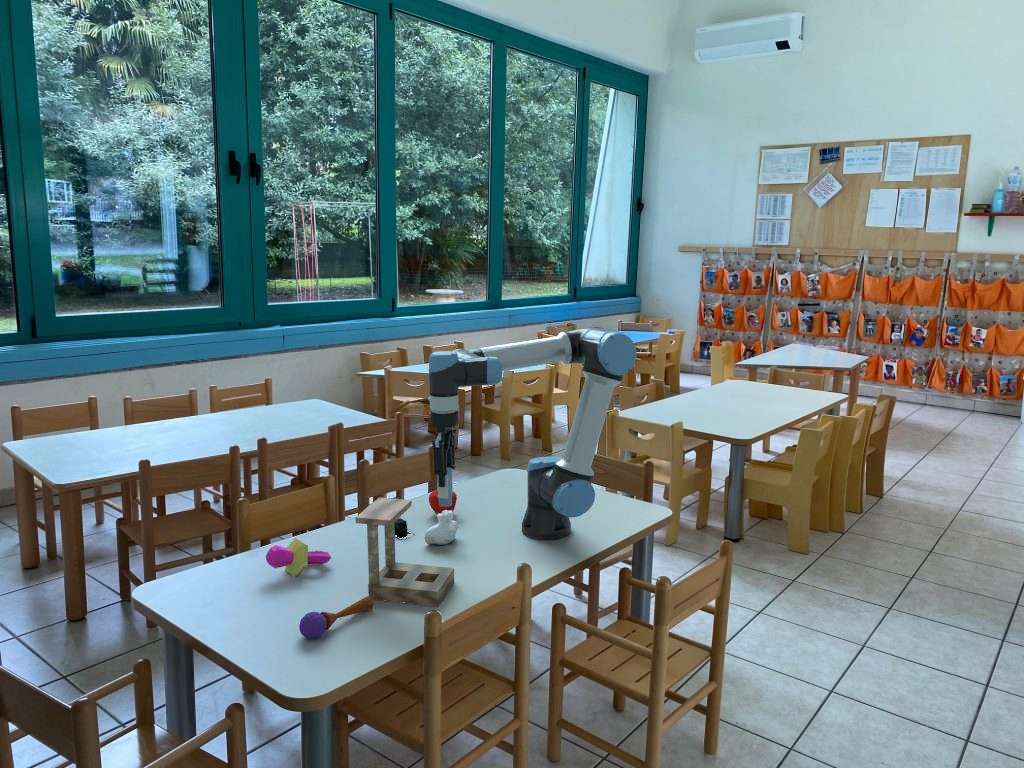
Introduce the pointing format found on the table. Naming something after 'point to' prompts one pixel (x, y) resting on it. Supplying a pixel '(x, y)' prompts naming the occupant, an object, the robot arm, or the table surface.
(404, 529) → the black rounded block
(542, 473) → the robot arm
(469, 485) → the table surface
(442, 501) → the peg
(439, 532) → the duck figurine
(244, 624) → the table surface
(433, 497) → the apple
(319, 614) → the kendama
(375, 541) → the awning
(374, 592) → the socket board
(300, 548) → the toy
